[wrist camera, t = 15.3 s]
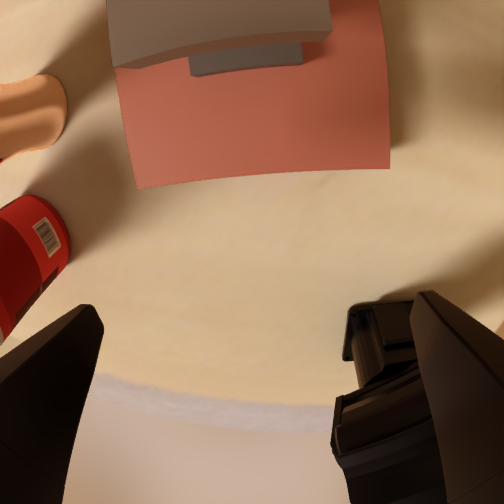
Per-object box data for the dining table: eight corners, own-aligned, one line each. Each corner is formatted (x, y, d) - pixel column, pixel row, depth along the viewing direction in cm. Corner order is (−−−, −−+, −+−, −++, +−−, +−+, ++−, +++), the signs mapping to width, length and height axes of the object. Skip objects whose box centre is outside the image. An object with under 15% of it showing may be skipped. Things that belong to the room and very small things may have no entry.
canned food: (17, 177, 19) (-75, 238, 10) (81, 220, 21) (-9, 307, 11) (11, 242, 23) (-57, 308, 13) (67, 283, 24) (4, 366, 15)
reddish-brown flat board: (373, 156, 17) (389, 168, 14) (156, 174, 19) (137, 189, 16) (338, -84, 8) (346, -105, 5) (128, -55, 10) (108, -69, 7)
